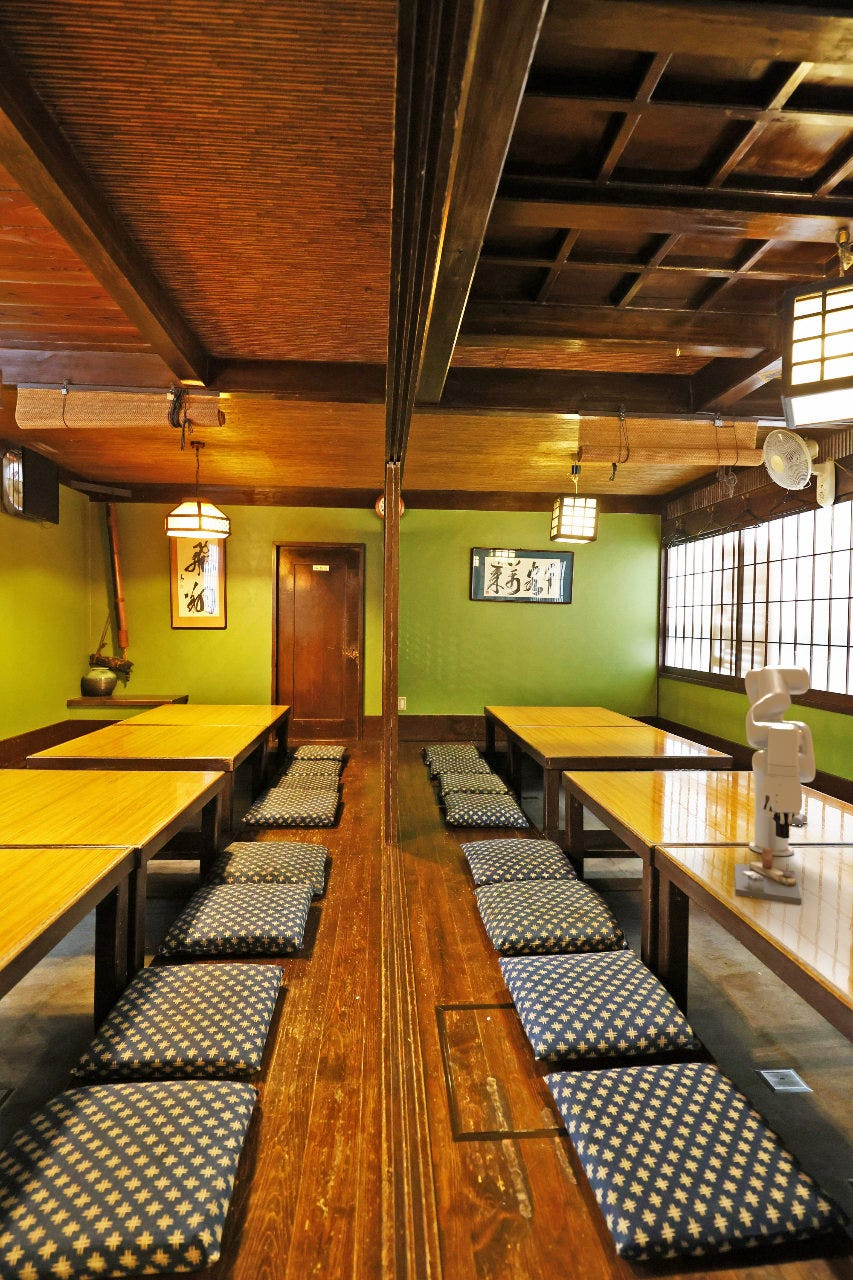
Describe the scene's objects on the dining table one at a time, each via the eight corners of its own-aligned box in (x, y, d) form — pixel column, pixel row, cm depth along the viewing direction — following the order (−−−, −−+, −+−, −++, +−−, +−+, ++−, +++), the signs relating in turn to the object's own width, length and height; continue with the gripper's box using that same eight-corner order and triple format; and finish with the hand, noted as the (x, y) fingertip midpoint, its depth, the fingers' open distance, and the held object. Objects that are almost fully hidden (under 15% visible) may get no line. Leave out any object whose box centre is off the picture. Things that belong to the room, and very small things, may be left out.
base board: (735, 868, 196) (735, 863, 196) (793, 876, 190) (793, 870, 190) (735, 894, 176) (735, 889, 176) (801, 904, 170) (801, 898, 170)
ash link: (799, 884, 179) (799, 858, 179) (786, 885, 178) (786, 860, 178) (759, 866, 192) (759, 843, 192) (747, 868, 191) (748, 844, 191)
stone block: (774, 821, 254) (765, 820, 247) (775, 808, 255) (766, 807, 248) (809, 828, 246) (800, 828, 239) (810, 815, 246) (802, 814, 239)
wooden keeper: (753, 883, 180) (753, 871, 180) (763, 890, 175) (763, 877, 175) (742, 883, 180) (742, 871, 180) (752, 890, 175) (752, 878, 175)
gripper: (793, 767, 193) (793, 832, 193) (750, 769, 189) (750, 835, 189) (815, 772, 186) (815, 839, 186) (770, 774, 182) (770, 842, 182)
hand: (782, 837), depth 187 cm, fingers closed
